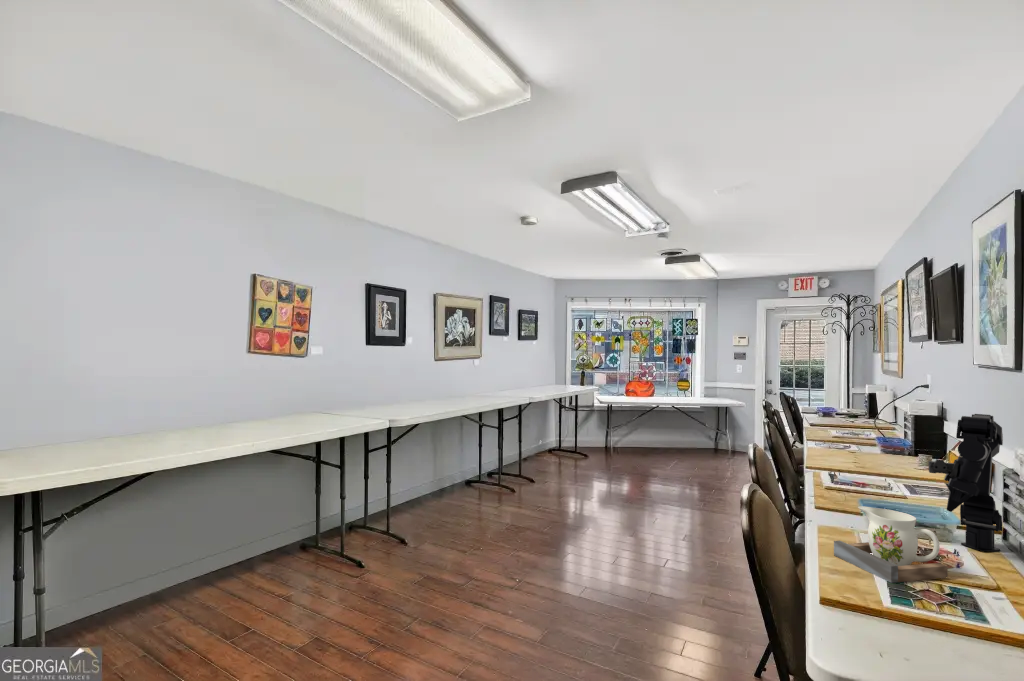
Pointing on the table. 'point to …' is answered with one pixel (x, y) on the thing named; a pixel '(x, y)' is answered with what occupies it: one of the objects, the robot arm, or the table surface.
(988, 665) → the table surface
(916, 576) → the dock
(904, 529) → the pitcher
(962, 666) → the table surface
